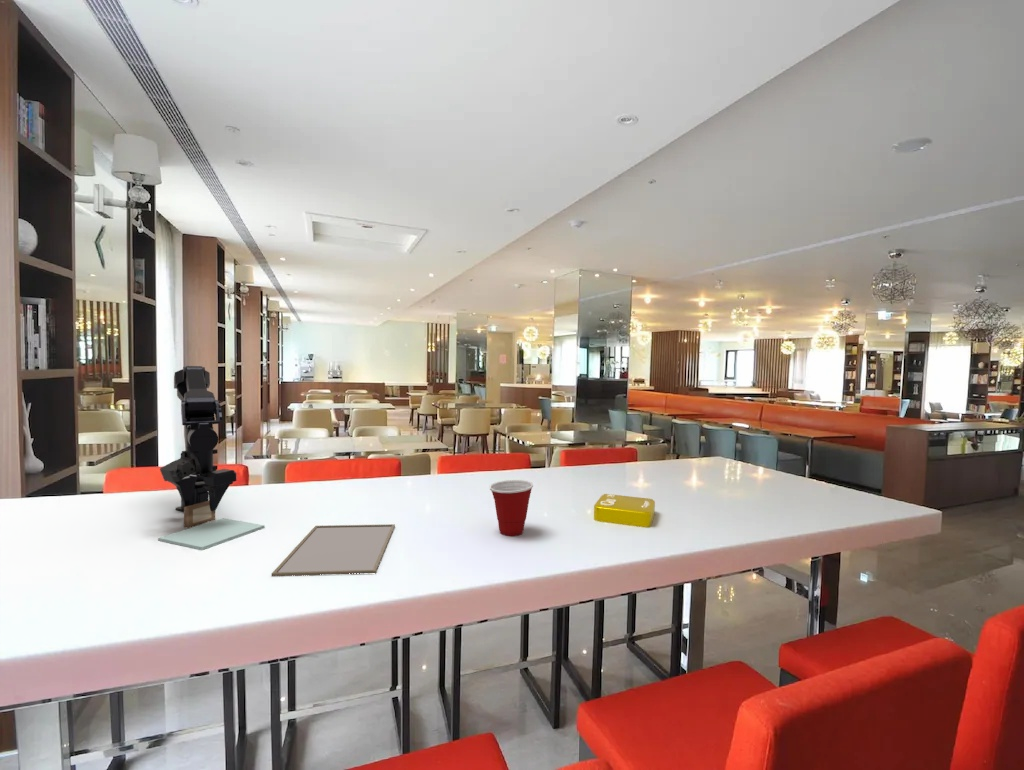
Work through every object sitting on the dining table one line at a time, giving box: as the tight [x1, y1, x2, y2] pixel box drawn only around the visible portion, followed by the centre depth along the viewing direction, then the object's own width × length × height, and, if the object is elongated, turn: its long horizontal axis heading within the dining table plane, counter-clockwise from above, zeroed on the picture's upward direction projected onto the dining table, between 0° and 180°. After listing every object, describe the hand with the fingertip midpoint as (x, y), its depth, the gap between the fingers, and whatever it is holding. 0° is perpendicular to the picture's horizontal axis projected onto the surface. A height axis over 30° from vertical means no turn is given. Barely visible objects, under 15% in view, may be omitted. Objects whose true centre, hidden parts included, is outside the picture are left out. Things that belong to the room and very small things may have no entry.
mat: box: [157, 517, 265, 551], centre depth 114 cm, size 14×16×1 cm
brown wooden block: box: [183, 501, 216, 529], centre depth 121 cm, size 2×7×5 cm, turn 159°
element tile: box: [593, 493, 656, 528], centre depth 134 cm, size 15×15×5 cm
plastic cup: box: [489, 479, 534, 537], centre depth 119 cm, size 11×11×12 cm
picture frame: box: [271, 524, 396, 577], centre depth 107 cm, size 19×1×28 cm
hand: (199, 508), depth 121 cm, fingers open, 9 cm apart
